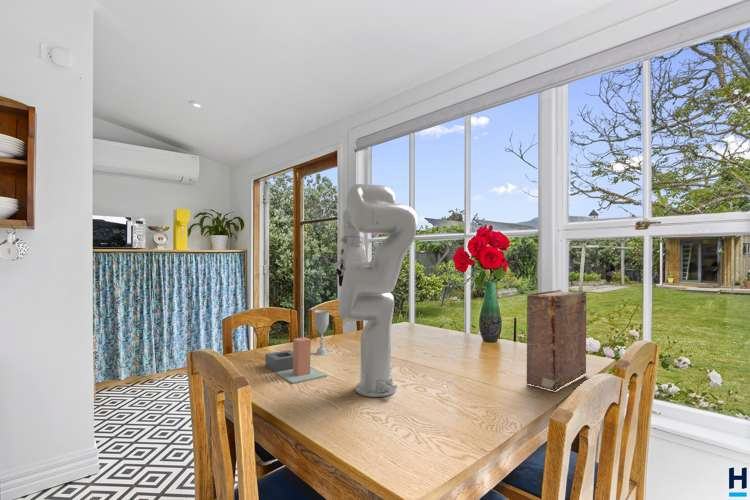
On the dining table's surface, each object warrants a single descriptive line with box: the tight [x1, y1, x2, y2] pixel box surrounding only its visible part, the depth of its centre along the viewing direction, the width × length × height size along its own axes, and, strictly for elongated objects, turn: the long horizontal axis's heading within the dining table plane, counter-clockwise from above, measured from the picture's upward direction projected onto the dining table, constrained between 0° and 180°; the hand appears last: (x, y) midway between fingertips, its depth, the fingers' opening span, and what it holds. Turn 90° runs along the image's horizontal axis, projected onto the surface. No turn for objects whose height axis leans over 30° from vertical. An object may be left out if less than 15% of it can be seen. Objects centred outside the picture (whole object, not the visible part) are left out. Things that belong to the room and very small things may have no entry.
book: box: [526, 289, 587, 391], centre depth 130 cm, size 25×9×30 cm, turn 131°
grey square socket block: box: [264, 349, 293, 373], centre depth 144 cm, size 10×10×4 cm
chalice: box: [313, 309, 331, 356], centre depth 163 cm, size 7×7×18 cm
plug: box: [292, 336, 312, 376], centre depth 134 cm, size 4×4×12 cm
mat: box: [275, 365, 328, 385], centre depth 134 cm, size 13×13×1 cm
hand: (352, 285), depth 149 cm, fingers open, 9 cm apart
